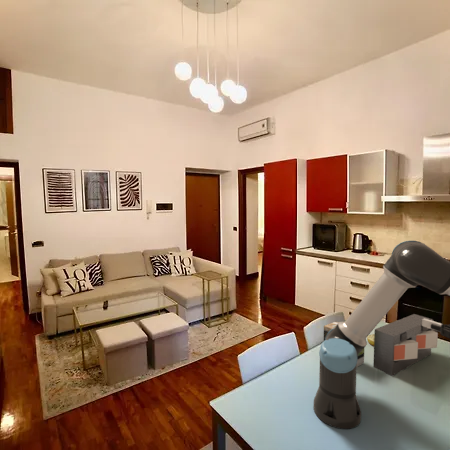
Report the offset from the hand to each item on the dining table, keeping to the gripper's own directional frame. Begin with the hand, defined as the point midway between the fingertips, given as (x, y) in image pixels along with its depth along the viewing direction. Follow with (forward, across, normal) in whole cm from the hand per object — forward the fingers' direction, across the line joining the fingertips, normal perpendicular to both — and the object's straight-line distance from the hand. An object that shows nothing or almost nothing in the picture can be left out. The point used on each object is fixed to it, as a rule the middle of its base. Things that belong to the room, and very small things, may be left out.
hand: (423, 322), depth 112 cm
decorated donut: (+27, +19, -26) cm, 42 cm away
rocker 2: (+8, +22, -19) cm, 30 cm away
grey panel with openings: (+12, +13, -25) cm, 31 cm away
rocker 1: (+8, +4, -20) cm, 22 cm away
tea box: (+27, -10, -26) cm, 39 cm away
